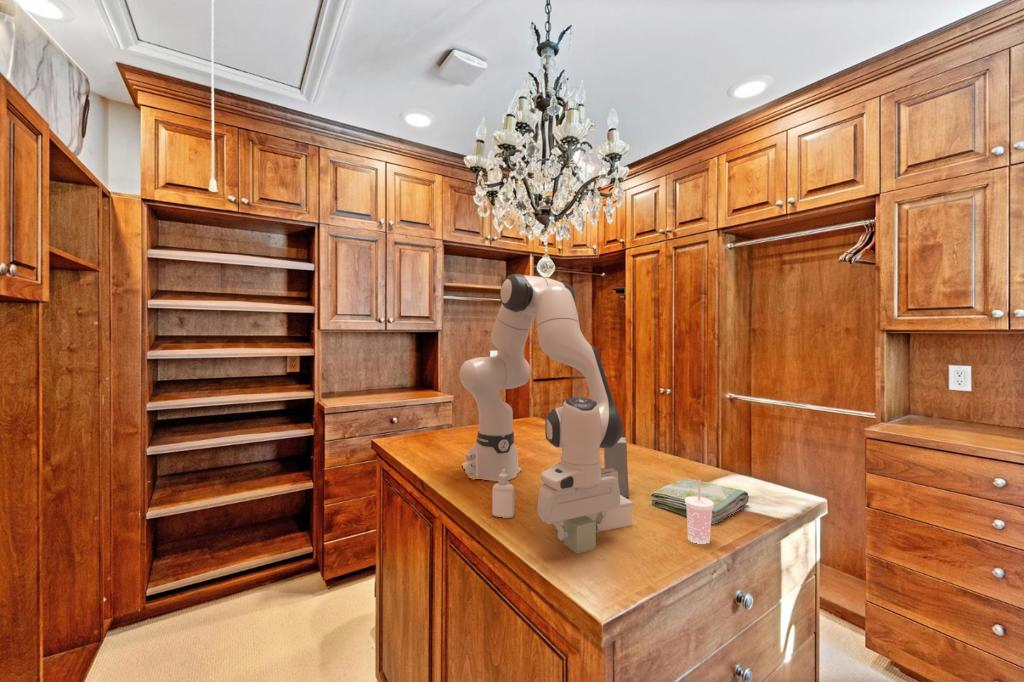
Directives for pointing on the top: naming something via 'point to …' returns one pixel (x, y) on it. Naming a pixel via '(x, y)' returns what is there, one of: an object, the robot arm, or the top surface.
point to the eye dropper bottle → (503, 497)
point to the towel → (721, 496)
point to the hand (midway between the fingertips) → (580, 534)
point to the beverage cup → (699, 518)
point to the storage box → (617, 516)
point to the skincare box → (618, 464)
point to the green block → (580, 534)
